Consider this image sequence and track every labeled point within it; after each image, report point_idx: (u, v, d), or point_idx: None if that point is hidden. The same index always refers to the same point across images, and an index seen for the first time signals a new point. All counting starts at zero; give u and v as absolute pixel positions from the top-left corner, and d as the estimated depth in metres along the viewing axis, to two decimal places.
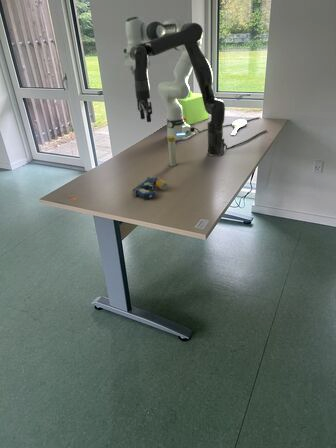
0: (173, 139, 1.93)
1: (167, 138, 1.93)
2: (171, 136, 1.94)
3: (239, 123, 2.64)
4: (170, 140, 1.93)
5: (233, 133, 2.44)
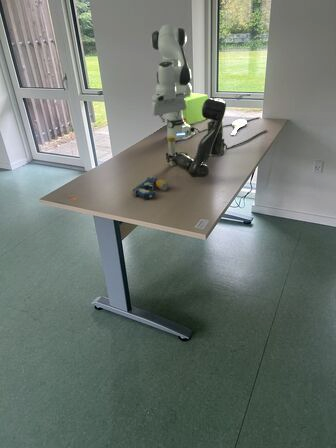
0: (173, 139, 1.93)
1: (167, 138, 1.93)
2: (171, 136, 1.94)
3: (239, 123, 2.64)
4: (170, 140, 1.93)
5: (233, 133, 2.44)
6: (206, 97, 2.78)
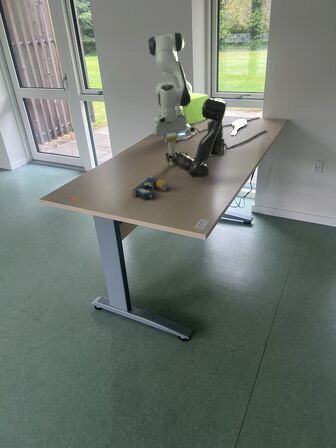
0: (173, 139, 1.93)
1: None
2: (171, 136, 1.94)
3: (239, 123, 2.64)
4: (170, 140, 1.93)
5: (233, 133, 2.44)
6: (206, 97, 2.78)
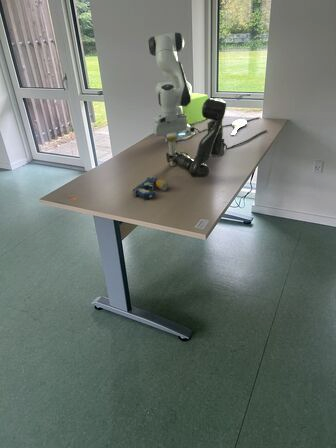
0: None
1: (171, 138, 1.92)
2: (170, 136, 1.94)
3: (239, 123, 2.64)
4: (174, 139, 1.93)
5: (233, 133, 2.44)
6: (206, 97, 2.78)
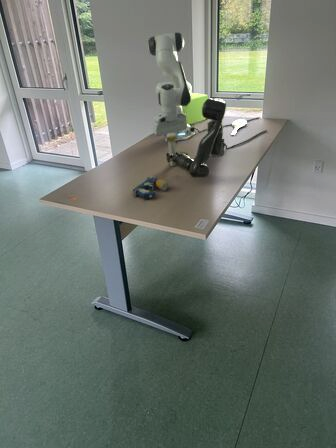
0: None
1: None
2: (170, 136, 1.93)
3: (239, 123, 2.64)
4: None
5: (233, 133, 2.44)
6: (206, 97, 2.78)
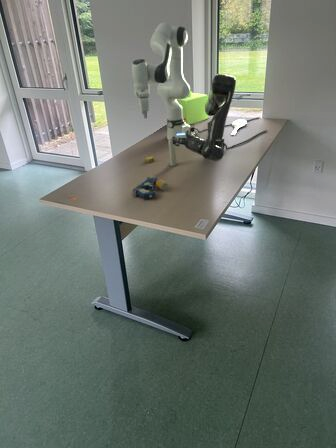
0: None
1: (150, 159, 2.08)
2: (148, 157, 2.10)
3: (239, 123, 2.64)
4: (152, 160, 2.10)
5: (233, 133, 2.44)
6: (206, 97, 2.78)
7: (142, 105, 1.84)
